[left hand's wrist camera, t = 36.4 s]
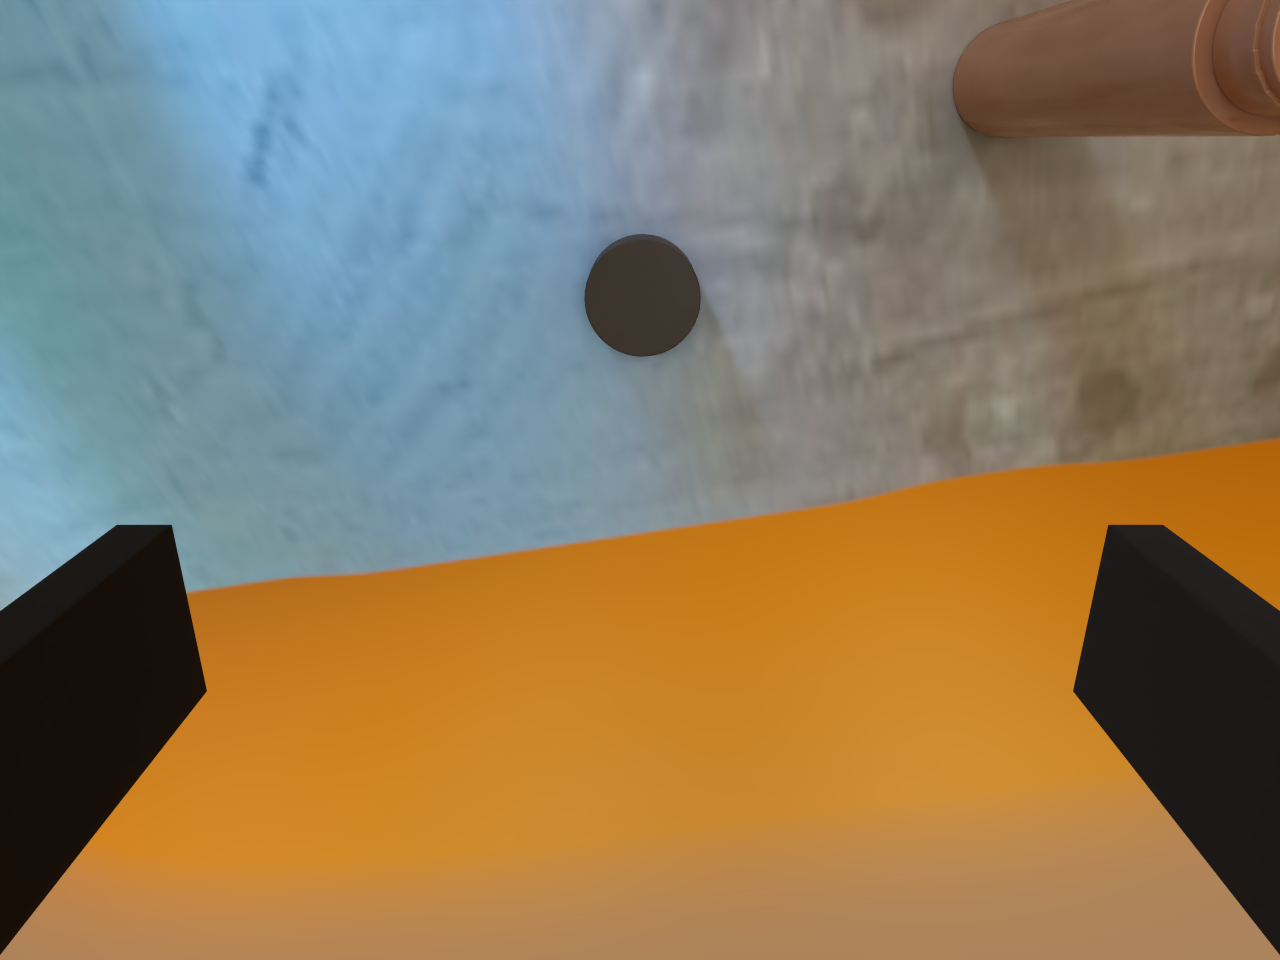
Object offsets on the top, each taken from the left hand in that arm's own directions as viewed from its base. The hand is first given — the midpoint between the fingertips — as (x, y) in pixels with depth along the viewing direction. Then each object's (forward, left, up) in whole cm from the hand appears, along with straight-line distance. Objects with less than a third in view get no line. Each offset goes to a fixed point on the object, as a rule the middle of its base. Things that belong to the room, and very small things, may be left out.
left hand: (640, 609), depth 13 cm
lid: (0, 0, -28) cm, 28 cm away
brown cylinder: (+14, +12, -30) cm, 35 cm away
